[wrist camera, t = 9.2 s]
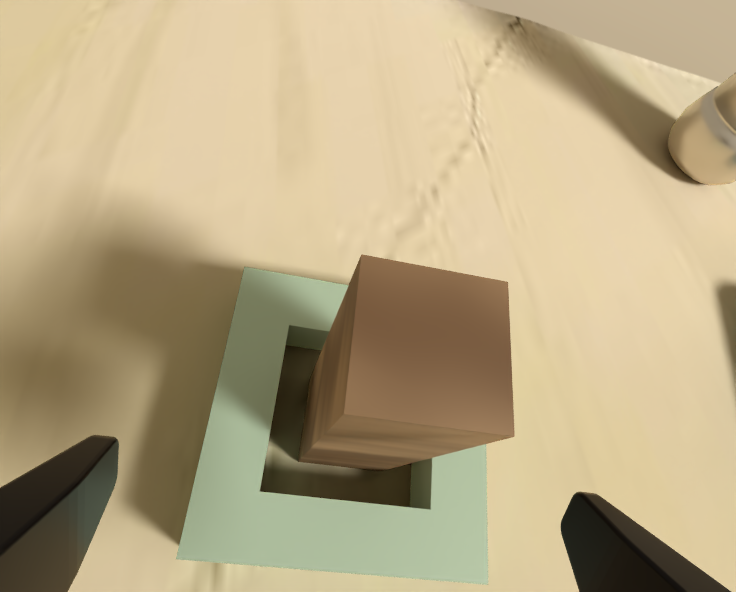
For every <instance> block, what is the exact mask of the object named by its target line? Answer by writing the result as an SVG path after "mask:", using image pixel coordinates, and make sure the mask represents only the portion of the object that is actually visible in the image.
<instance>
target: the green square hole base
mask: <svg viewBox="0 0 736 592" xmlns="http://www.w3.org/2000/svg"><path fill="white" fill-rule="evenodd" d="M348 286H349V285H344V284H338V283H333V282H327V281H322V280H316V279H310V278H305V277H299V276H294V275H288V274H282V273H277V272H271V271H266V270H260V269H255V268H249V267H244V271H243V276H242V280H241V284H240V288H239V293H238V297H237V301H236V305H235V310H234V314H233V318H232V322H231V327H230V331H229V335H228V340H227V344H226V348H225V352H224V357H223V361H222V365H221V369H220V374H219V378H218V382H217V387H216V391H215V395H214V399H213V404H212V408H211V412H210V416H209V421H208V425H207V429H206V433H205V438H204V442H203V446H202V451H201V455H200V459H199V463H198V468H197V472H196V476H195V480H194V485H193V489H192V493H191V498H190V502H189V506H188V510H187V515H186V519H185V523H184V527H183V532H182V536H181V540H180V544H179V549H178V553H177V557H176V559H180V560H192V561H204V562H216V563H229V564H241V565H253V566H265V567H278V568H290V569H302V570H314V571H326V572H339V573H351V574H363V575H375V576H388V577H400V578H412V579H424V580H436V581H449V582H461V583H473V584H485V585H488V537H487V470H486V444H484V445H480V446H476V447H472V448H468V449H464V450H460V451H457V452H453V453H449V454H445V455H441V456H437V457H433V458H430V459H426V460H422V461H418V462H414V463H412V469H411V489H410V507H401V506H392V505H382V504H373V503H364V502H354V501H345V500H335V499H326V498H317V497H307V496H298V495H288V494H279V493H270V492H260V487H261V481H262V476H263V470H264V464H265V459H266V453H267V447H268V442H269V436H270V431H271V425H272V419H273V414H274V408H275V402H276V397H277V391H278V385H279V380H280V374H281V368H282V363H283V357H284V351H285V346H286V345H289V346H295V347H302V348H308V349H315V350H321V351H322V348H323V346H324V343H325V341H326V339H327V336H328V334H329V331H330V329H331V327H332V324H333V322H334V319H335V317H336V315H337V312H338V310H339V307H340V305H341V303H342V300H343V298H344V295H345V293H346V291H347V288H348Z"/></svg>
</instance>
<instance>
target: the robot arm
mask: <svg viewBox="0 0 736 592" xmlns="http://www.w3.org/2000/svg"><path fill="white" fill-rule="evenodd" d="M118 450H119V443H118V440H117V439H116V438H115V437H109V436H101V435H93V436H90V437H88V438H86V439H85V440H83V441H81V442H79V443H78V444H76V445H74V446H72V447H71V448H69V449H67V450H65V451H64V452H62V453H60V454H58V455H57V456H55V457H53V458H51V459H50V460H48V461H46V462H44V463H43V464H41V465H39V466H37V467H36V468H34V469H32V470H30V471H29V472H27V473H25V474H23V475H22V476H20V477H18V478H16V479H15V480H13V481H11V482H9V483H8V484H6V485H4V486H2V487H1V488H0V592H68V590H69V588H70V586H71V584H72V582H73V580H74V578H75V576H76V575H77V573H78V570H79V568H80V566H81V564H82V561H83V559H84V557H85V554H86V552H87V550H88V547H89V545H90V543H91V540H92V538H93V536H94V533H95V531H96V529H97V526H98V524H99V522H100V519H101V517H102V515H103V512H104V510H105V508H106V505H107V503H108V501H109V498H110V496H111V494H112V491H113V489H114V486H115V483H116V479H117V473H118ZM561 534H562V537H563V540H564V544H565V547H566V550H567V553H568V556H569V560H570V563H571V566H572V569H573V573H574V576H575V579H576V582H577V585H578V589H579V592H731V591H729V590H728V589H727V588H725V587H724V586H723V585H721V584H720V583H719V582H717V581H716V580H714V579H713V578H712V577H710V576H709V575H708V574H706V573H705V572H703V571H702V570H701V569H699V568H698V567H697V566H695V565H694V564H692V563H691V562H690V561H688V560H687V559H686V558H684V557H683V556H681V555H680V554H679V553H677V552H676V551H675V550H673V549H672V548H670V547H669V546H668V545H666V544H665V543H664V542H662V541H661V540H659V539H658V538H657V537H655V536H654V535H653V534H651V533H650V532H648V531H647V530H646V529H644V528H643V527H642V526H640V525H639V524H637V523H636V522H635V521H633V520H632V519H631V518H629V517H628V516H626V515H625V514H624V513H622V512H621V511H620V510H618V509H617V508H615V507H614V506H613V505H611V504H610V503H609V502H607V501H606V500H605V499H603V498H602V497H600V496H599V495H597V494H594V493H587V492H577V493H575V494H574V495H573V497H572V499H571V501H570V503H569V505H568V508H567V510H566V512H565V514H564V516H563V518H562V521H561Z"/></svg>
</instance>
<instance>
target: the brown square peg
mask: <svg viewBox="0 0 736 592" xmlns="http://www.w3.org/2000/svg"><path fill="white" fill-rule="evenodd" d="M511 437H514V413H513V390H512V366H511V343H510V319H509V295H508V282H505V281H500V280H495V279H489V278H484V277H479V276H473V275H468V274H463V273H457V272H452V271H447V270H441V269H436V268H431V267H425V266H420V265H415V264H409V263H404V262H399V261H393V260H388V259H383V258H377V257H372V256H367V255H361V257H360V259H359V262H358V264H357V267H356V269H355V271H354V274H353V276H352V279H351V281H350V283H349V286H348V288H347V291H346V293H345V295H344V298H343V300H342V303H341V305H340V307H339V310H338V312H337V315H336V317H335V319H334V322H333V324H332V327H331V329H330V331H329V334H328V336H327V339H326V341H325V343H324V346H323V348H322V351H321V353H320V355H319V358H318V360H317V363H316V365H315V367H314V370H313V372H312V375H311V377H310V382H309V389H308V396H307V403H306V409H305V416H304V423H303V430H302V437H301V444H300V451H299V458H298V462H306V463H315V464H324V465H332V466H341V467H350V468H359V469H367V470H376V471H383V470H387V469H391V468H395V467H399V466H402V465H406V464H410V463H414V462H418V461H422V460H426V459H430V458H433V457H437V456H441V455H445V454H449V453H453V452H457V451H460V450H464V449H468V448H472V447H476V446H480V445H484V444H488V443H491V442H495V441H499V440H503V439H507V438H511Z"/></svg>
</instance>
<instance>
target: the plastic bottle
mask: <svg viewBox="0 0 736 592" xmlns="http://www.w3.org/2000/svg"><path fill="white" fill-rule="evenodd" d="M668 148H669V152H670V154H671V156H672V158H673V160H674V162H675V163H676V164H677V165H678V167H679V168H680V169H681V170H682V171H683V172H684V173H686V174H687V175H688V176H689V177H691V178H693V179H694V180H696V181H698V182H700V183H703V184H707V185H721V184H730V183H732V182H734V181H736V73H734V74H733V75H732V76H731V77H729V78H728V79H727V80H726V81H725V82H723V83H722V84H721V85H719V86H717V87H716V88H714V89H712V90H711V91H709V92H708V93H706V94H705V95H703V96H702V97H700V98H699V99H698V100H696V101H695V102H694V103H692V104H691V105H690V106H688V107H687V108H686V109H685V110H684V112H683V113H682V114H681V115H680V117H679V118H678V119H677V121H676V122H675V123H674V124H673V126H672V128H671V131H670V135H669V139H668Z"/></svg>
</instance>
